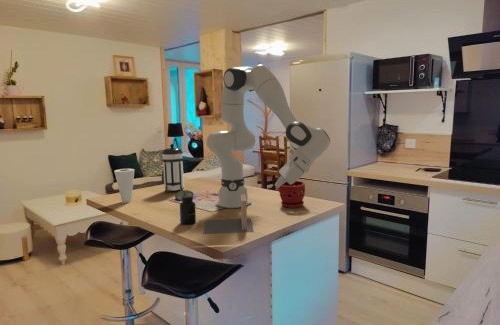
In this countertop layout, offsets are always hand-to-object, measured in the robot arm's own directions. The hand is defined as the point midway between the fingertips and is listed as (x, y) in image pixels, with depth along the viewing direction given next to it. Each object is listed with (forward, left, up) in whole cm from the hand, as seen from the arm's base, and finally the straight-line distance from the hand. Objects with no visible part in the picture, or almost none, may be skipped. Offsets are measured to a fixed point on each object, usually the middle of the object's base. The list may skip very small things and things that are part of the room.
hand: (276, 186), depth 142 cm
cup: (-51, -78, -17) cm, 95 cm away
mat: (0, -20, -17) cm, 27 cm away
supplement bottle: (-8, -38, -17) cm, 43 cm away
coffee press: (-74, -55, -17) cm, 94 cm away
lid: (-53, -47, -17) cm, 73 cm away
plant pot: (-30, +12, -17) cm, 36 cm away
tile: (0, -14, -16) cm, 21 cm away
